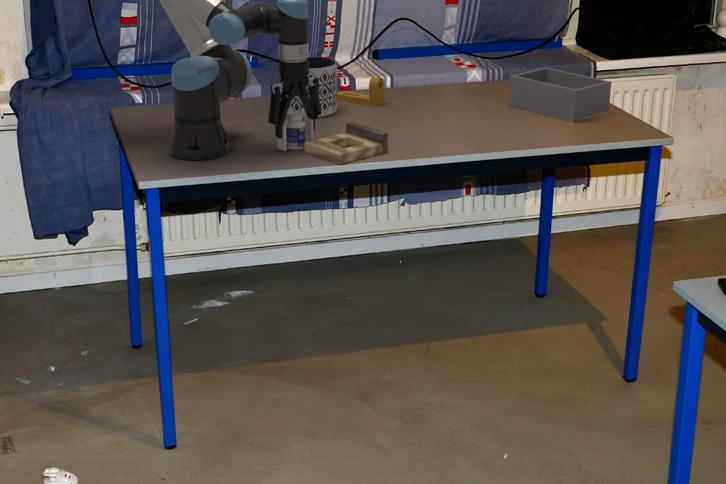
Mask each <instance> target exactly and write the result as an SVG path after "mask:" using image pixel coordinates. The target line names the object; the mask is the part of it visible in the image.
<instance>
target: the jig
mask: <svg viewBox="0 0 726 484" xmlns="http://www.w3.org/2000/svg"><path fill="white" fill-rule="evenodd" d="M304 145H305V148H304V153H306V154H309V155H312V156H314V155H315V156H314V157H317V156H318V158H320V157H321V158H320V159H323V158H324V159H323V160H326V159H327V160H326V161H328V160H331V161H334V162H337V163H344V162H347V161H352V160H356V161H359V160H358V159H360V160H362V158H363V159H367V158H370V157H374V155H375V156H377V155H382V154H385V153H388V151H389V133H388V132H386V131H382V130H379V129H376V128H373V127H369V126H366V125H363V124H360V123H356V122H354V121H350V122H346V123H345V132H342V133H339V134H338V133H337V134H334V135H330V136H327V137H322V138H318V139H314V140H313V141H309V142H305V143H304ZM346 146H347V147H346ZM342 147H343V148H342ZM366 157H367V158H366ZM331 161H330V162H331ZM334 162H333V163H334ZM352 162H353V161H352ZM337 163H336V164H337Z"/></svg>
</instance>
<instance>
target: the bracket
mask: <svg viewBox="0 0 726 484" xmlns="http://www.w3.org/2000/svg"><path fill="white" fill-rule="evenodd" d="M337 101H340V102H346V103H352V104H359V105H365V106H369V107H370V106H371V107H379V106H381V105H383V104H385V81H384V78H383V77H379V76H372V77H371V78H370V80H369V83H368V94H365V93H358V92H352V91H342V90H341V91H337Z"/></svg>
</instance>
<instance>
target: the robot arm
mask: <svg viewBox="0 0 726 484" xmlns="http://www.w3.org/2000/svg"><path fill="white" fill-rule="evenodd" d="M158 2H159V3H160V5H161V6H162V7H163V9H164V11H165V13H166V15H167V17H168V18H169V19H170V21H171V23H172V25H173V27H174V28H175V30H176V31H177V33H178V35H179V36H180V38H181V40H182V42H183V44H184V45H185V47H186V49H187V50H188V52H189V53H190V55H189V57H185V58H182V59H180V60H178V61H176V62H175V63H174V64H173V66H172V68H171V78H170V82H171V90H172V101H173V119H174V122H173V123H174V124H173V129H172V131H171V135H170V140H169V142H168V143H169V145H168V146H169V148H168V149H169V154H170V156H171V157H174V158H177V159H181V160H190V161H191V160H192V161H200V160H201V161H202V160H211V159H216V158H219V157H223V156H225V155H226V154H228V153H229V152H230V141H229V138H228V137H227V134H226V130H225V128H224V126H223V123H222V118H221V104H222V103H224V102H226V101H229V100H230V99H233V98H236V97H238V96H239V95H241V94H242V93H244V92H245V91H246V90H247V88H248V87H249V86H250V84H251V81H252V76H253V74H252V73H253V72H252V66H251V63H250V61H249V59H248V57H247V56H246V55H245V54H244V53H243V52H240V51H238V50H236V49H233V47H232V45H233V44H234V45H235V44H237V43H239V42H241V41H243V40H245V39H249V38H251V37H254V36H256V35H259V34H261V35H262V34H265V35H274V36H275V35H276V36H278V37H277V38H278V39H277V40H278V59H280V60H279V62H278V69H279V70H278V71H279V72H278V73H279V76H280V81H279V83H277V84H271V85H270V93H271V94H270V102H269V103H270V105H269V112H268V120H267V122H268V123H269V124H270V125H273V126H274V129H275V130H274V131H275V138H277V150H278V149H279V150H280V151H284V152H286V151H287V150H288V148H287V144H286V126H285V122H286V121H285V120H286V119H287V111H288V108H289V105H290V102H291V101H292V100H293V97H295V96H297V95H298V96H299V98H300V100H301V103H302V105H303V107H304V110H305V112H306V115H307V117H308V118H307V117H306V118H303V119H304V121H303V122H304V123H305V141H306V142H309V141H313V140H315V139H314V137H315V136H314V131H315V130H316V120H318V118H319V117H318V115H321V106H320V100H319V94H318V88H317V86H318V79H316V78H313V77H310V78H308V74H309V61H308V60H307V58H308V57H309V56H310V55H309V52H310V50H309V48H310V47H309V17H310V16H309V8H308V1H307V0H277V3H265V2H254V1H239V2H237V3H235V6H231V5H229V4H228V3H226V2H225V1H224V0H158ZM307 85H308V91H309V94H308V92H307V89H306V87H307ZM286 95H287V96H288V97H287V96H286ZM308 95H309V96H310V99H309V97H308Z"/></svg>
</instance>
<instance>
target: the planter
mask: <svg viewBox="0 0 726 484" xmlns="http://www.w3.org/2000/svg"><path fill="white" fill-rule="evenodd" d="M307 60H308V61H309V74H308V78H310V77H313V78H316V79H318V86H317V88H318V94H319V100H320V106H321V115H318V118H323V117H328V116H331V115H333V114H334V113H336V112H337V110H338V100H337V92H338V68H337V66H338V63H337V61H336V60H335V59H333V58H330V57H325V56H313V55H311V56H310V55H309V57H308V58H307ZM306 89H307V92H308V94H309V91H308V85H307V87H306ZM286 96H287V95H286ZM287 97H288V96H287ZM308 97H309V99H310V96H309V95H308ZM290 112H300V113H302V114H303V119H304V118H306V117H307V115H306V112H305V110H304V107H303V105H302V103H301V100H300V98H299V96H298V95H297V96H295V97H293V100H292V101H291V102H290V105H289V108H288V111H287V114H288V113H290ZM287 114H286V115H287ZM307 118H308V117H307Z"/></svg>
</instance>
